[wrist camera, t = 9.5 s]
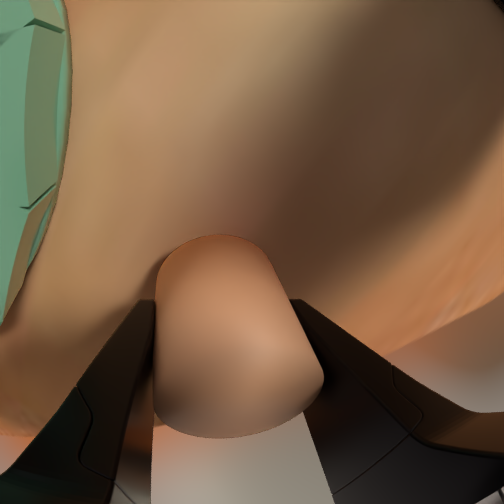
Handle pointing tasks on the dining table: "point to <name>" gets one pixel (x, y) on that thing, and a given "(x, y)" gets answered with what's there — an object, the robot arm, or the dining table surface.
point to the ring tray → (30, 130)
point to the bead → (228, 343)
